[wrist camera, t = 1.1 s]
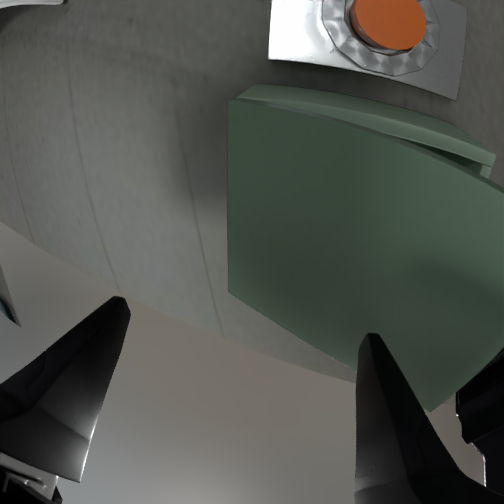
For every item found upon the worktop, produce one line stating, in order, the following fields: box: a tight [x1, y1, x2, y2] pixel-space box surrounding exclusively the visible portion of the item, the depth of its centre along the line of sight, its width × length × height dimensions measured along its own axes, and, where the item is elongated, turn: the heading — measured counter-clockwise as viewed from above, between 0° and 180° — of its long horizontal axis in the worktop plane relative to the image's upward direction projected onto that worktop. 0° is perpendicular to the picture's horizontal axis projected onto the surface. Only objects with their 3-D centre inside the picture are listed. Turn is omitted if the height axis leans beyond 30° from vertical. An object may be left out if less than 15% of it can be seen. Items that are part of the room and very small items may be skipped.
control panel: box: [268, 0, 467, 101], centre depth 11 cm, size 12×7×3 cm, turn 88°
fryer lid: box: [227, 98, 504, 412], centre depth 12 cm, size 14×12×1 cm
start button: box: [350, 0, 426, 50], centre depth 9 cm, size 4×4×2 cm
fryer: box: [237, 84, 496, 179], centre depth 17 cm, size 14×12×6 cm
